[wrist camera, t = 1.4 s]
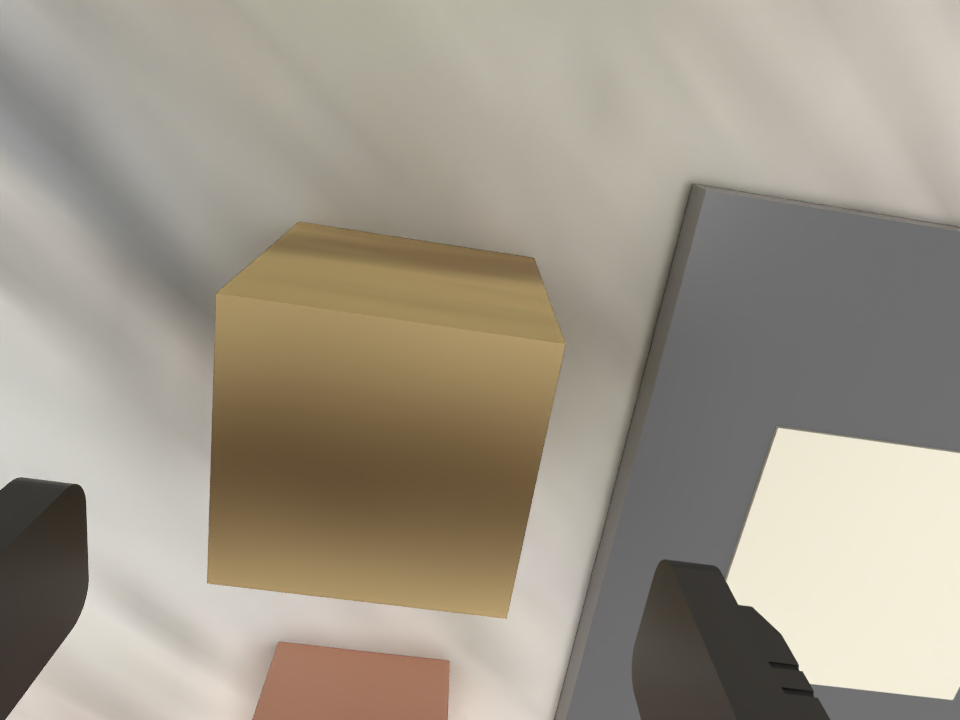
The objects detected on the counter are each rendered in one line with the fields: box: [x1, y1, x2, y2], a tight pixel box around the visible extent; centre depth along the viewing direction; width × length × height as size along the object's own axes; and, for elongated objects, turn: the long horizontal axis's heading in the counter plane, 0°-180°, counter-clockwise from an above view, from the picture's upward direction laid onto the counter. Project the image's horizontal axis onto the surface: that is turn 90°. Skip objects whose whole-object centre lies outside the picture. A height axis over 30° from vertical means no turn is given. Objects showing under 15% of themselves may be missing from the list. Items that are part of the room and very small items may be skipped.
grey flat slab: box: [555, 184, 960, 720], centre depth 20 cm, size 18×14×1 cm
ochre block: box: [207, 222, 565, 619], centre depth 15 cm, size 6×6×6 cm
